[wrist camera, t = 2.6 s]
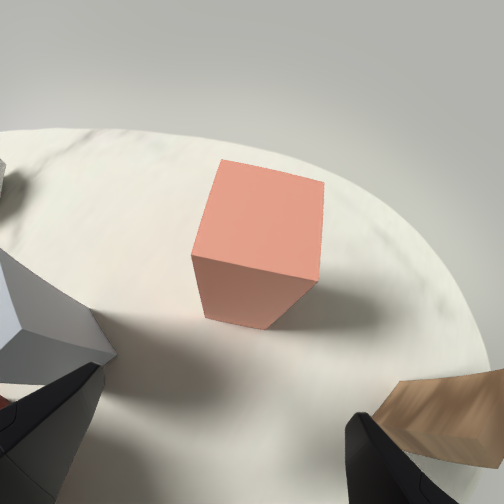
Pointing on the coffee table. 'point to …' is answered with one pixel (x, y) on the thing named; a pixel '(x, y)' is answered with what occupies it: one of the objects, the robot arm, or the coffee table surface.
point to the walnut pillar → (448, 418)
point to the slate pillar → (43, 329)
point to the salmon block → (257, 244)
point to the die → (2, 173)
